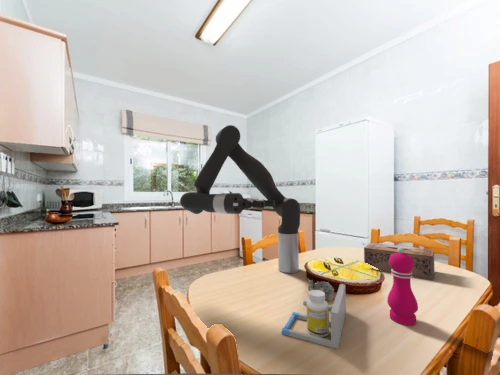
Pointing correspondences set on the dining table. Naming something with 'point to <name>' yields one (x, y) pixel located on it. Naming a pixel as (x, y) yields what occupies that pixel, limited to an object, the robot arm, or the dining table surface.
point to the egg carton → (322, 288)
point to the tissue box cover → (421, 257)
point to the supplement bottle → (317, 314)
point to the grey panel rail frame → (335, 322)
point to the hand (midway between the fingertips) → (269, 203)
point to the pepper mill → (402, 289)
